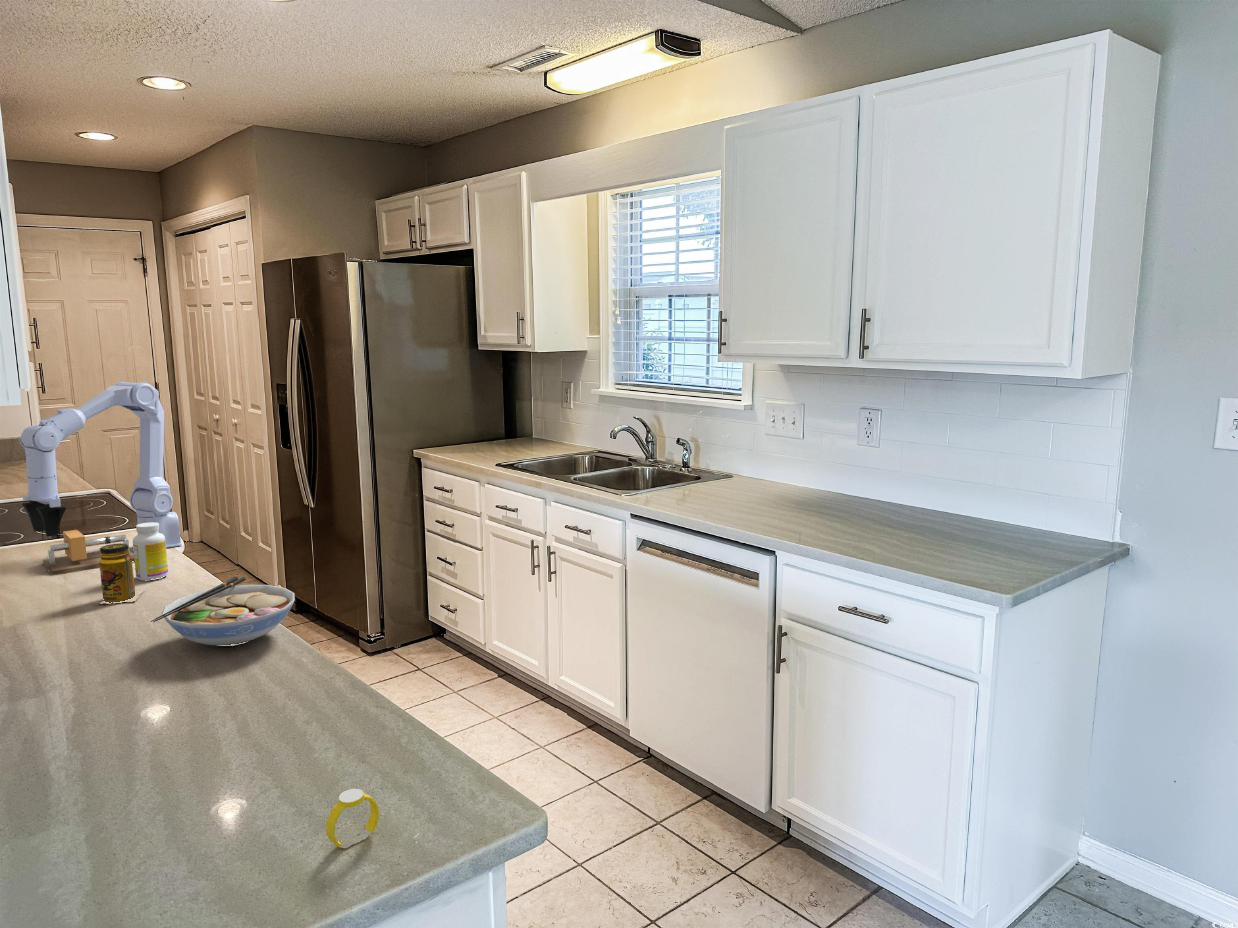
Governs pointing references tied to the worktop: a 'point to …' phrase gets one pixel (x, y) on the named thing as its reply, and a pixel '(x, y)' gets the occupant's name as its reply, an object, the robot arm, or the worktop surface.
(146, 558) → the supplement bottle
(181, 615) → the ramen bowl
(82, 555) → the collar
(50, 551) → the metal rod
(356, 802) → the watch
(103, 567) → the condiment
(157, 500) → the robot arm
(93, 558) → the walnut board
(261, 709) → the worktop surface
